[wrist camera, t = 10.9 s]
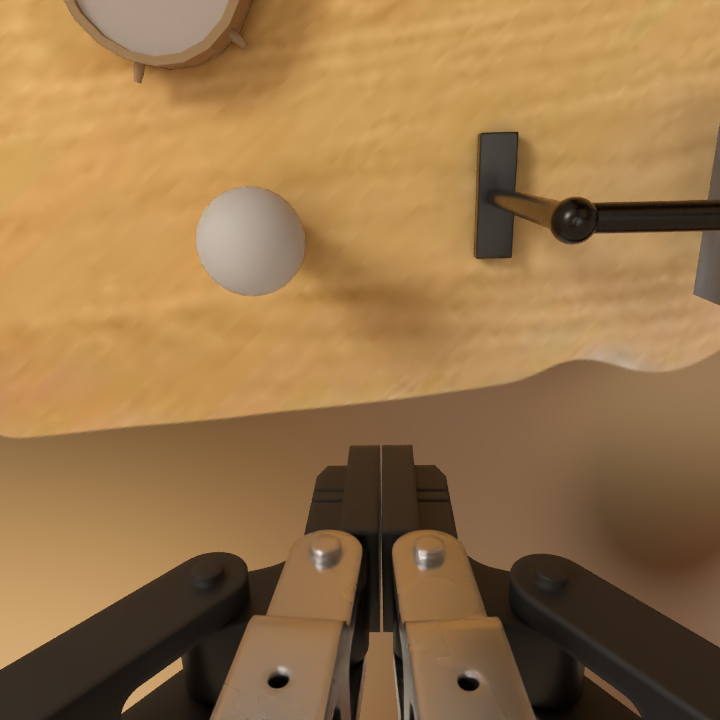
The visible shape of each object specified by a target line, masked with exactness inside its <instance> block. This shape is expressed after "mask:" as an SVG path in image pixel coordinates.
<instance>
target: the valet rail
mask: <svg viewBox="0 0 720 720" xmlns="http://www.w3.org/2000/svg"><path fill="white" fill-rule="evenodd" d="M517 150H518V132H494V133H480V134H478V150H477V178H476V207H475V235H474V256H475V257H476V258H477V259H484V258H511V257H512V240H513V222H514V215H516V216H519V217H521V218H524V219H526V220H529V221H531V222H534V223H536V224H539V225H541V226H544V227H546V228H549V229H550V230H551V232H552V234H553V235H554V237H555V238H556V239H557V240H559V241H560V242H562V243H565V244H571V245H573V244H579V243H582V242H584V241H586V240H588V239H589V238H590V237H591V236H592V235H593V234H594V233H640V232H687V231H720V200H689V201H648V202H606V203H591V202H590V201H589V200H587V199H585V198H582V197H570V198H567V199H565V200H563V201H557V200H552V199H547V198H543V197H538V196H533V195H529V194H524V193H519V192H515V186H516V168H517Z"/></svg>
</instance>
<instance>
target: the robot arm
mask: <svg viewBox="0 0 720 720" xmlns="http://www.w3.org/2000/svg"><path fill="white" fill-rule="evenodd" d="M412 449H413V448H412V445H383V446H382V521H381V474H380V446H379V445H371V446H370V445H363V446H362V445H361V446H359V445H357V446H350V450H349V457H348V465H347V466H328V467H327V468H326V469H325V470H324V471H322V473H320V475H318V477H317V479H316V484H315V489H314V493H313V498H312V503H311V507H310V511H309V516H308V521H307V525H306V529H305V534H304V536H303V537H301V538H299V539H298V540H297V541H296V542H295V543H294V544H293V545H292V547H291V549H290V551H289V554H288V557H287V560H286V561H284V562H282V563H280V564H277V565H274V566H271V567H267V568H264V569H259V570H254V571H250V572H248V569H247V565H246V563H245V562H244V561H243V560H242V559H241V558H240V557H238V556H236V555H234V554H230V553H225V552H213V553H207V554H202V555H199V556H196V557H194V558H191V559H189V560H188V561H186V562H184V563H182V564H180V565H179V566H177V567H175V568H174V569H172V570H170V571H168V572H167V573H165V574H164V575H162V576H160V577H158V578H157V579H155V580H153V581H151V582H150V583H148V584H146V585H145V586H143V587H141V588H139V589H138V590H136V591H134V592H133V593H131V594H129V595H128V596H126V597H124V598H123V599H121V600H119V601H117V602H116V603H114V604H112V605H110V606H109V607H107V608H106V609H104V610H102V611H100V612H99V613H97V614H95V615H93V616H92V617H90V618H88V619H86V620H85V621H83V622H81V623H80V624H78V625H76V626H75V627H73V628H71V629H70V630H68V631H66V632H65V633H63V634H61V635H59V636H57V637H56V638H54V639H52V640H51V641H49V642H47V643H45V644H44V645H42V646H40V647H39V648H37V649H35V650H34V651H32V652H30V653H28V654H27V655H25V656H23V657H22V658H20V659H18V660H16V661H15V662H13V663H11V664H10V665H8V666H6V667H4V668H3V669H1V670H0V720H359V718H360V710H361V702H362V695H363V687H364V680H365V671H366V653H367V650H368V646H369V632H380V593H381V537H382V580H383V581H382V585H383V632H393V646H394V647H393V649H394V650H393V651H394V652H393V654H394V676H395V685H396V695H397V704H398V713H399V720H720V648H719V647H718V646H716V645H714V644H713V643H711V642H709V641H707V640H706V639H704V638H702V637H701V636H699V635H697V634H695V633H694V632H692V631H690V630H689V629H687V628H685V627H684V626H682V625H680V624H679V623H677V622H675V621H673V620H672V619H670V618H668V617H667V616H665V615H663V614H661V613H660V612H658V611H656V610H655V609H653V608H651V607H649V606H648V605H646V604H644V603H643V602H641V601H639V600H637V599H636V598H634V597H633V596H631V595H629V594H627V593H626V592H624V591H622V590H621V589H619V588H617V587H615V586H614V585H612V584H610V583H609V582H607V581H605V580H603V579H602V578H600V577H598V576H597V575H595V574H593V573H592V572H590V571H588V570H587V569H585V568H583V567H581V566H580V565H578V564H576V563H574V562H573V561H570V560H568V559H566V558H563V557H560V556H556V555H550V554H533V555H528V556H524V557H522V558H520V559H519V560H517V561H516V562H515V563H514V564H513V566H512V568H511V571H510V572H509V571H505V570H500V569H496V568H492V567H488V566H486V565H483V564H481V563H479V562H477V561H475V560H473V559H472V558H470V557H469V556H468V555H467V553H466V550H465V548H464V546H463V544H462V543H461V542H460V541H459V540H458V537H457V533H456V527H455V521H454V516H453V511H452V506H451V502H450V496H449V492H448V485H447V480H446V476H445V475H444V474H443V473H442V472H441V471H440V470H439V469H438V468H437V467H436V466H435V465H414V460H413V450H412ZM179 657H181V658H182V664H183V669H182V670H181V671H179V672H178V673H177V674H175V675H174V676H172V677H171V678H170V679H168V680H167V681H166V682H164V683H163V684H162V685H160V686H159V687H157V688H156V689H155V690H154V691H152V692H151V693H149V694H148V695H147V696H145V697H144V698H143V699H141V700H140V701H139V702H137V703H136V704H134V705H133V706H132V707H130V708H129V709H128V710H126V711H125V712H123V713H122V714H121V712H122V709H123V706H124V704H125V702H126V700H127V699H128V697H129V696H130V695H131V694H132V692H134V691H135V690H136V689H137V688H138V687H139V686H141V685H142V684H143V683H145V682H146V681H148V680H149V679H150V678H152V677H153V676H155V675H156V674H157V673H159V672H160V671H161V670H163V669H164V668H166V667H167V666H168V665H170V664H171V663H173V662H174V661H176V660H177V659H178V658H179ZM585 667H587V668H588V669H590V670H591V671H592V672H594V673H595V674H596V675H598V676H599V677H600V678H602V679H603V680H605V681H606V682H607V683H609V684H610V685H611V686H613V687H614V688H615V689H617V690H618V691H620V692H621V693H622V694H624V695H625V696H626V697H627V698H628V699H629V700H630V701H631V702H632V703H633V704H634V705H635V707H636V708H637V710H638V711H639V713H640V715H641V717H642V718H640V717H639V716H638V715H637V714H635V713H634V712H632V711H631V710H630V709H629V708H627V707H626V706H625V705H623V704H622V703H621V702H619V701H618V700H617V699H615V698H614V697H612V696H611V695H610V694H609V693H607V692H606V691H605V690H603V689H602V688H601V687H599V686H598V685H596V684H595V683H594V682H593V681H591V680H590V679H589V678H587V677H586V676H584V668H585Z"/></svg>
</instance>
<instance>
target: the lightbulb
mask: <svg viewBox="0 0 720 720" xmlns="http://www.w3.org/2000/svg"><path fill="white" fill-rule="evenodd" d="M196 247H197V251H198V256H199V258H200V261H201V263H202V265H203V267H204V269H205V270H206V272H207V273H208V275H209V276H210V277H211V278H212V279H213V280H214V281H215V282H216V283H217V284H219V285H220V286H222V287H223V288H224V289H226V290H229V291H231V292H233V293H236V294H240V295H243V296H260V295H266V294H269V293H272V292H275V291H277V290H279V289H280V288H282V287H284V286H285V285H286V284H287V283H288V282H289V281H290V280H291V279H292V278H293V277H294V275H295V274H296V273H297V271H298V270H299V268H300V266H301V264H302V261H303V258H304V253H305V234H304V229H303V226H302V223H301V220H300V218H299V217H298V215H297V213H296V212H295V210H294V209H293V208H292V207H291V205H290V204H289V203H288V202H287V201H286V200H284V199H283V198H282V197H281V196H279V195H278V194H276V193H274V192H272V191H270V190H267V189H263V188H260V187H249V186H246V187H240V188H234V189H231V190H228V191H226V192H224V193H222V194H221V195H219V196H217V197H216V198H215V199H214V200H213V201H212V202H211V203H210V204H209V205H208V206H207V208H206V209H205V211H204V213H203V214H202V216H201V218H200V221H199V223H198V227H197V233H196Z"/></svg>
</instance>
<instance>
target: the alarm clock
mask: <svg viewBox="0 0 720 720" xmlns="http://www.w3.org/2000/svg"><path fill="white" fill-rule="evenodd" d="M64 2H65V4H66V5H67V7H68V9H69V11H70V13H71V14H72V16H73V18H74V19H75V20H76V21H77V22H78V23H79V24H80V25H81V27H82V28H83V29H84V30H85V31H86V32H87V33H88V34H89V35H90V36H91V37H92V38H93V39H94V40H95V41H96V42H97V43H98V44H100V45H101V46H103V47H105V48H106V49H108V50H110V51H112V52H113V53H115V54H117V55H118V56H120V57H122V58H124V59H125V60H129V61H134V62H135V63H134V81H135V82H137V83H141V82H142V79H143V75H144V68H145V64H148V65H152V66H157V67H162V68H166V69H178V68H186V67H193V66H198V65H200V64H202V63H204V62H206V61H208V60H209V59H211V58H213V57H215V56H217V55H219V54H220V53H222V51H223V50H224V49H225V48H226V47H227V46H228V45H229V43H230V42H231V41H233V42H234V43H235V44H236V45H238V46H239V47H241V48H242V49H245V48H246V47H247V45H248V44H247V43H246V41H245V40H244V39H243V37H242V36H241V35H240V34H239V32H240V30H241V27H242V25H243V23H244V20H245V18H246V16H247V13H248V11H249V8H250V6H251V3H252V0H64Z"/></svg>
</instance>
